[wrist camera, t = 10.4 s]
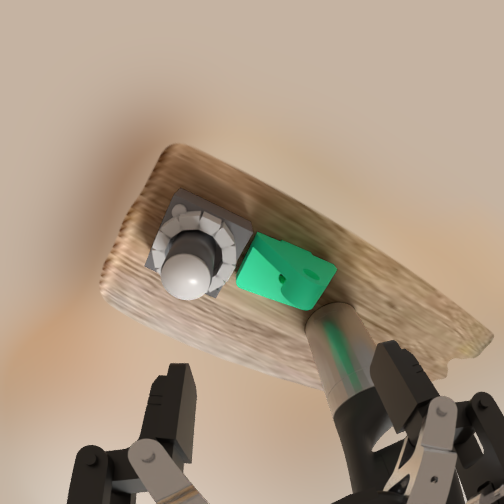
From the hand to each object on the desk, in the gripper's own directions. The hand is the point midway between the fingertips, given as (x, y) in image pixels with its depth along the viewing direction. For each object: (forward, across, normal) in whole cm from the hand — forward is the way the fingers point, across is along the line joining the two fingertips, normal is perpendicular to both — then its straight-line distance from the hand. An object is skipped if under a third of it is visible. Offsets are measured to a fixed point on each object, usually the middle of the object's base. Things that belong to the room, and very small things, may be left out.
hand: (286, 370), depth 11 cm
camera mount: (+27, -4, +9) cm, 29 cm away
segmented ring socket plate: (+26, +7, +4) cm, 27 cm away
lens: (+22, +7, +3) cm, 24 cm away
